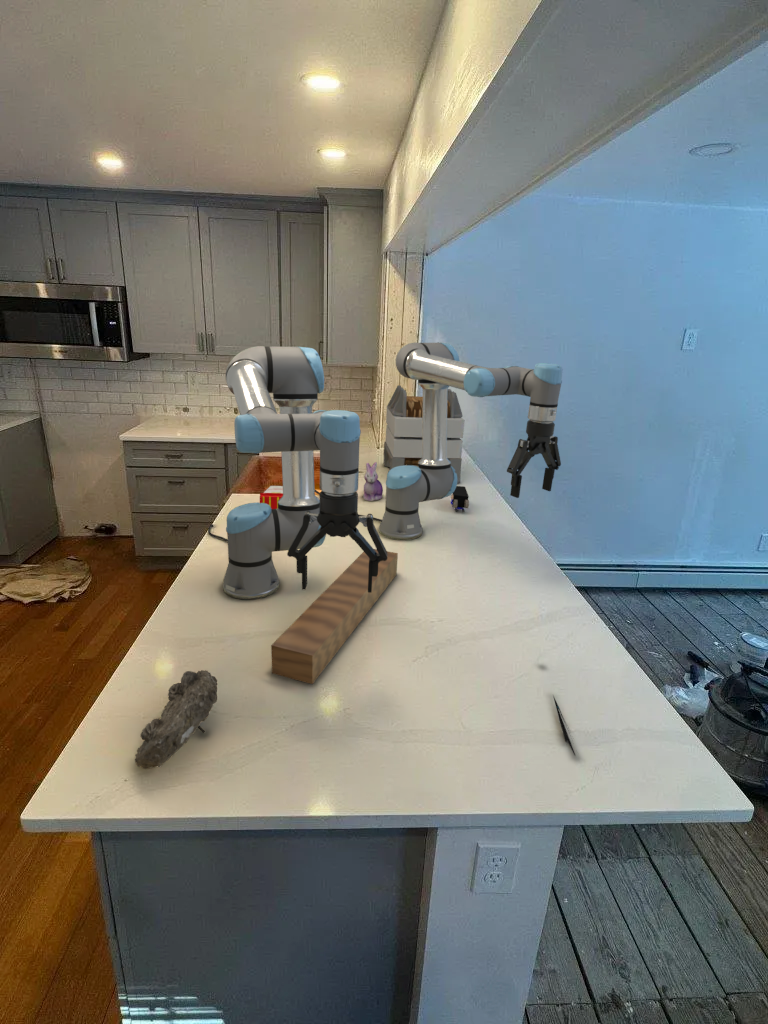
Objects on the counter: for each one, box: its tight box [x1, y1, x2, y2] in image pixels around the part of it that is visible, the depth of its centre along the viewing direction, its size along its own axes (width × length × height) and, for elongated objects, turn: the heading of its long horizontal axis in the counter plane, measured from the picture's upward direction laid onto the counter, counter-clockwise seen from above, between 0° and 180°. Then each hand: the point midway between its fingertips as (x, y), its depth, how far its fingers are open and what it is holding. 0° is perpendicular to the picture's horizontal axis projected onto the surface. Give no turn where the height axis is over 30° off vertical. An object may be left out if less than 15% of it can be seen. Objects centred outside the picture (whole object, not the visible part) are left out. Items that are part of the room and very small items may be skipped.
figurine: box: [362, 461, 384, 502], centre depth 233 cm, size 9×10×15 cm
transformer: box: [383, 384, 465, 484], centre depth 268 cm, size 34×33×41 cm
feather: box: [552, 695, 579, 756], centre depth 115 cm, size 2×28×2 cm
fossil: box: [134, 669, 218, 770], centre depth 103 cm, size 22×10×15 cm
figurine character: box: [450, 485, 470, 513], centre depth 227 cm, size 7×8×15 cm
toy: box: [259, 485, 283, 509], centre depth 208 cm, size 12×13×30 cm
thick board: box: [270, 548, 399, 685], centre depth 144 cm, size 57×10×7 cm, turn 161°
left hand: (337, 588), depth 118 cm, fingers open, 13 cm apart
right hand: (530, 493), depth 165 cm, fingers open, 13 cm apart
